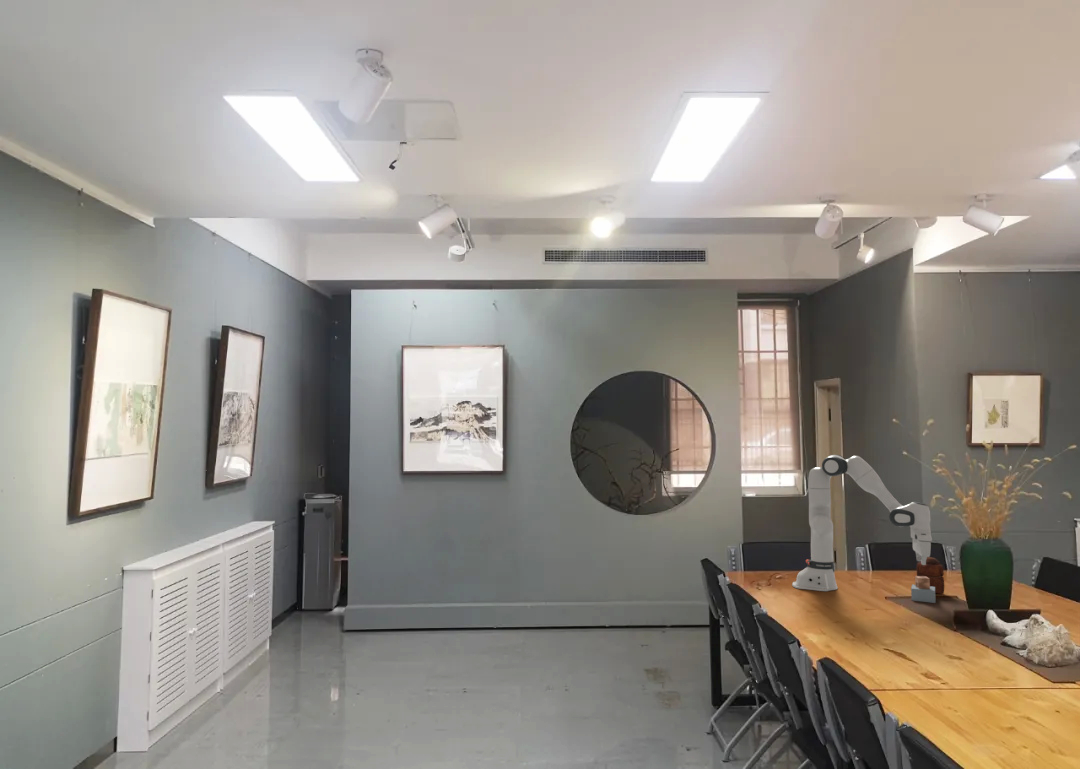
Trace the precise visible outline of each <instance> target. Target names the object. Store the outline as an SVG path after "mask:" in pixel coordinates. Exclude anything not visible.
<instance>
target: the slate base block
mask: <svg viewBox="0 0 1080 769" xmlns="http://www.w3.org/2000/svg"><path fill="white" fill-rule="evenodd" d="M910 590H911V601H914V602H915V601H916V602H925V603H933V604H936V593H935V587H932V586H930V589H921V588H917V587H916V584H913V583H912V585H911V588H910Z"/></svg>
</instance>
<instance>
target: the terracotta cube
mask: <svg viewBox="0 0 1080 769" xmlns="http://www.w3.org/2000/svg"><path fill="white" fill-rule="evenodd" d="M914 577H915V578H914V580H915V581H914V583H915V584H914V585H916V587H917V588H921V589H930V580H929V578H928V577H926V576H917V575H915V576H914Z"/></svg>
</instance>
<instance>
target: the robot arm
mask: <svg viewBox="0 0 1080 769" xmlns="http://www.w3.org/2000/svg"><path fill="white" fill-rule="evenodd" d="M843 474H847V475H849V477H851V478H852V479H853V481H854V483H856V484H857V486H858V487H860V488H861V489H862V490H863V491H864V492H867V493H869V494H872V495H874V497H876V498H878V500H879V501H880V502H882V504H883V505H884V506H885V507H886V509H888V511H889V516H888V518H889V521H890V523H891V524H892V525H893V526H896V527H899V528H903V527H910V529H909V530H910V538H911V539H912V550H913V551H914V552H915V557H916V562H921V564H922V565H926V559H927V557H931V551H932V550H931V548H932V547H931V546H932V543H931V542H932V541H933V537H932V532H931V528H932V527H931V511H930V507H929V506H928V504H926V503H923V502H919V501H912V502H910V503H908V504H902V503H901V502H899V501H898V500H897V499H896V497H894V496H893V494H892V493H891V492H890V490H888V489H887V487H886V485H885V484H884V483H883V481H882V478H880V476H879V475H878V473H877V471H875V469H874V468H873V467H872V466H871V465H870V464H869V463H868V462H867V461H866V460H864V459H863V458H862V457H861V456H859V455H853V456H851V457H849V458H847V459H845V457H843V456H842V455H840V454H831V455H828V456H827V457H825V458H824V459H823V460H822V463H821V466H820V467H819V466H818V467H817V466H816V467H813V468H811V469H810V470H809V473H808V480H807V481H808V482H807V486H808V490H807V491H808V524H809V527H810V559H806V560H805V563H806V565H807V566H806V567H805V568H804V569H802V570H800V571H799V572H798V573H797V576H796V581H793V582H792V584H791V586H792V587H793V588H795V589H800V590H808V591H817V592H818V591H819V592H829V591H836V590H838V584H837V580H836V576H835V571H836V567H835V566H836V564H835V561H834V549H833V548H834V522H833V520H832V517H831V516H832V515H831V514H832V511H831V509H832V508H831V507H832V497H831V478H832V477H837V476H838V477H839V476H841V475H843Z"/></svg>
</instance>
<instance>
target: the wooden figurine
mask: <svg viewBox="0 0 1080 769" xmlns="http://www.w3.org/2000/svg"><path fill="white" fill-rule="evenodd" d="M915 567H916V576H926V577H928V578H929V580H930V586H932V587H935V595H936V594H939V595H943V594H944V593H945V578H944V577H943V576H944V575H945V573H944V566H943V564H941V563H940V561H939V560H938V559H937V558H935V557H931V556H930V557H927V559H926V565H922V564H921V561H918V562H916V566H915Z"/></svg>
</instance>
